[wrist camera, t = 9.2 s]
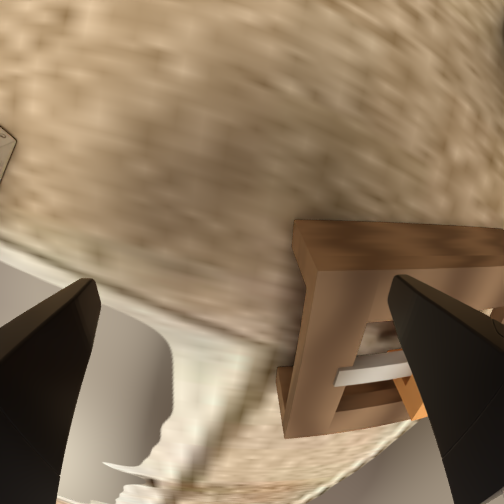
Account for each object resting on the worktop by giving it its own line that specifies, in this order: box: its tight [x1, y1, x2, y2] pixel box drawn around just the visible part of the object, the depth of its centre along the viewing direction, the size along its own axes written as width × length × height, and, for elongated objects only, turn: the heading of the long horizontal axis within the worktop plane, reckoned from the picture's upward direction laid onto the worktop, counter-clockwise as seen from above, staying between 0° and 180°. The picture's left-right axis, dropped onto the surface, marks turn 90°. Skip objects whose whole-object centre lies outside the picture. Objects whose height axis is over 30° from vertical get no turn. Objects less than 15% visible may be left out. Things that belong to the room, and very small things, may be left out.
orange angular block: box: [387, 349, 428, 421], centre depth 20 cm, size 3×6×6 cm, turn 178°
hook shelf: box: [276, 220, 504, 439], centre depth 23 cm, size 20×16×7 cm
